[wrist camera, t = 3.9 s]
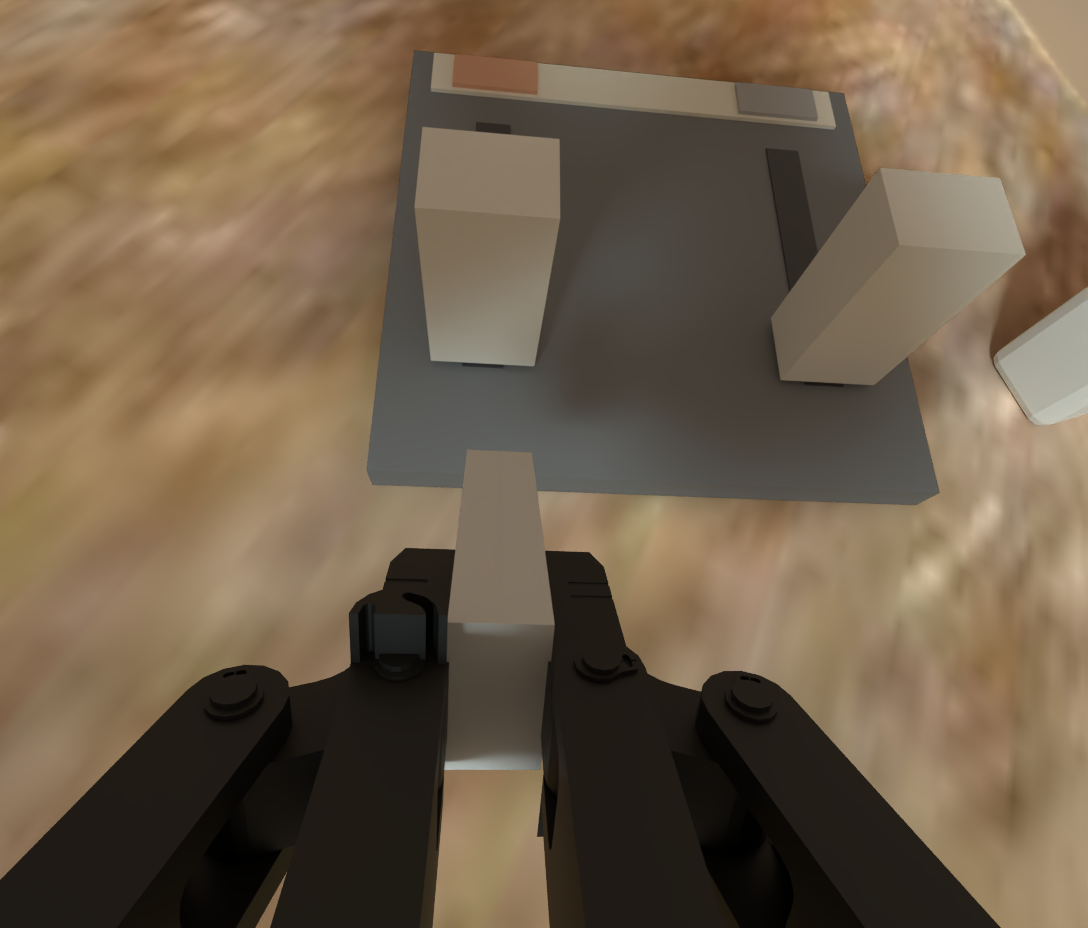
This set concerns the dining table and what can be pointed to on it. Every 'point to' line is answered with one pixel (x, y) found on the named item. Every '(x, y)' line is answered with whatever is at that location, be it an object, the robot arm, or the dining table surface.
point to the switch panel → (648, 298)
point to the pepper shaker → (1050, 364)
